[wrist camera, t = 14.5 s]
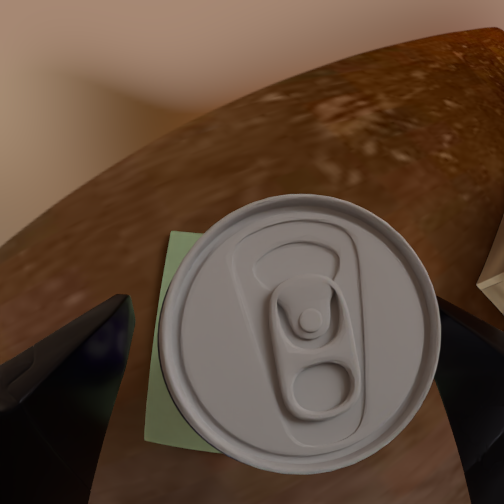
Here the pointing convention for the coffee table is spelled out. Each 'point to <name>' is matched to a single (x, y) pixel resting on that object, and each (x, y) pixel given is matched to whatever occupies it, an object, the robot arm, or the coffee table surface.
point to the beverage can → (299, 334)
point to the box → (494, 271)
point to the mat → (158, 400)
